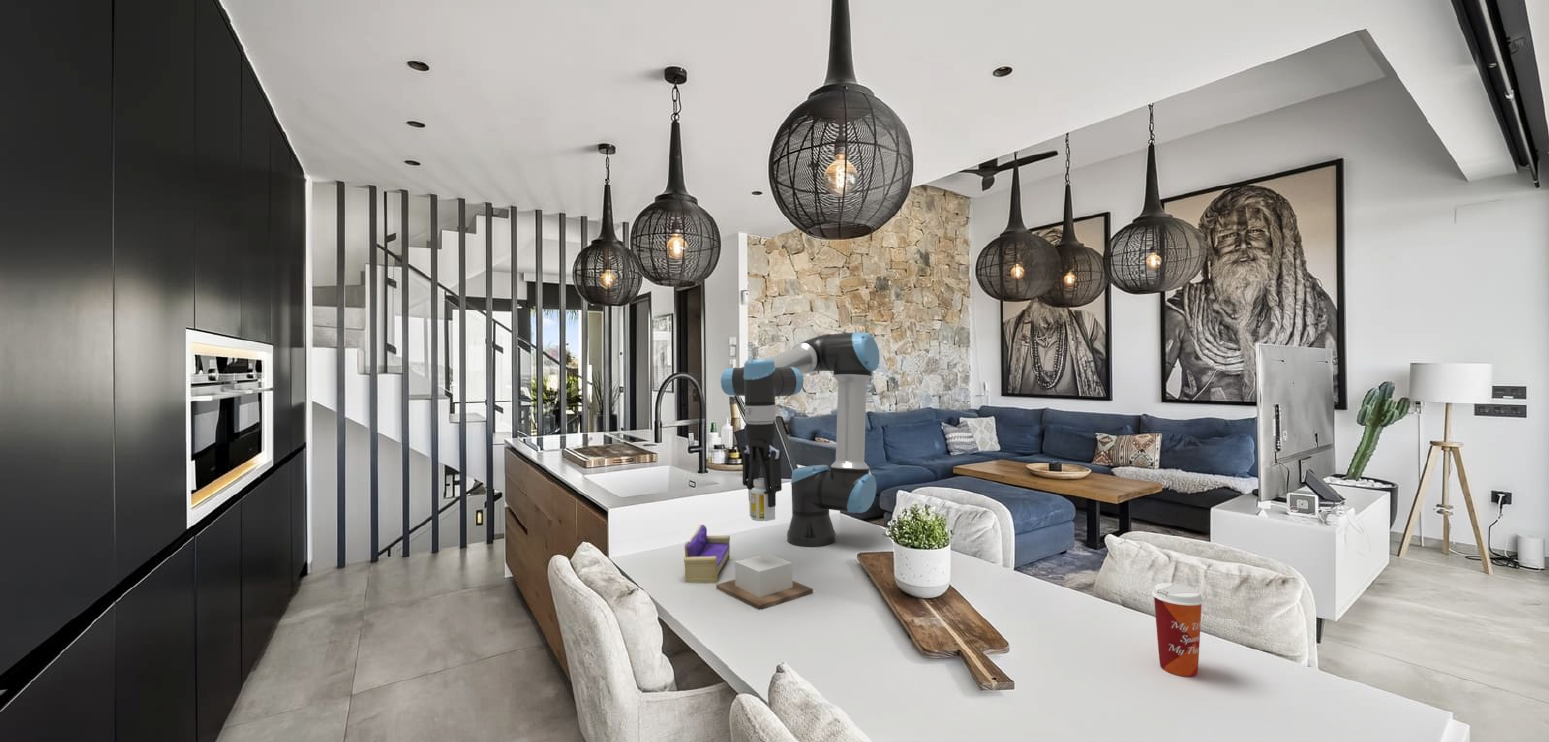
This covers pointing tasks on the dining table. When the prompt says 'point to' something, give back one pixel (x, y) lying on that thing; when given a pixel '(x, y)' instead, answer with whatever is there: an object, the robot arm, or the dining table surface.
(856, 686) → the dining table surface
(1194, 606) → the paper cup
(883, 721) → the dining table surface
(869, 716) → the dining table surface
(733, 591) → the walnut board
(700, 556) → the toy sofa
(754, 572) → the white plinth
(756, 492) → the supplement bottle
